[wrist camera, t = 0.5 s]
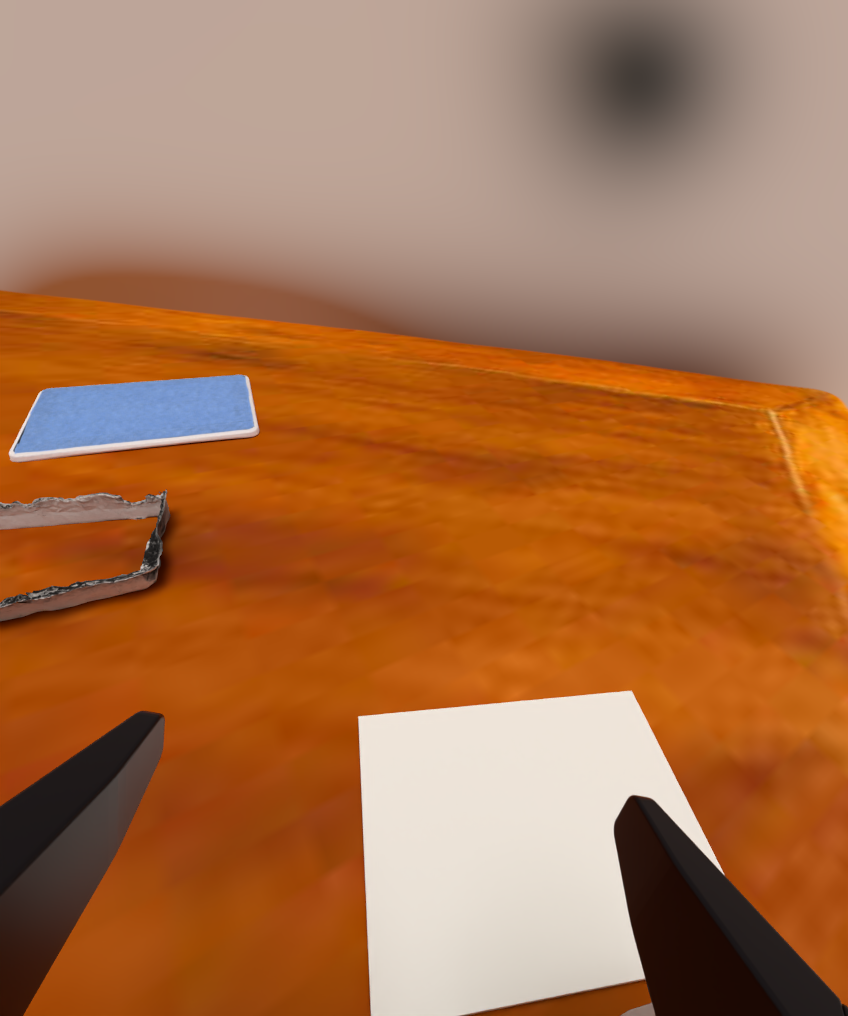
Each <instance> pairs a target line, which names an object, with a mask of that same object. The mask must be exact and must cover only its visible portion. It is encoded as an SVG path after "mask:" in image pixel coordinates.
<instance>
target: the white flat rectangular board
mask: <svg viewBox="0 0 848 1016" xmlns="http://www.w3.org/2000/svg"><path fill="white" fill-rule="evenodd" d="M358 723H359V747H360V770H361V794H362V818H363V842H364V866H365V889H366V913H367V937H368V961H369V985H370V1009H371V1016H467V1015H472V1014H477V1013H482V1012H487V1011H492V1010H497V1009H502V1008H507V1007H512V1006H517V1005H522V1004H527V1003H532V1002H537V1001H542V1000H547V999H552V998H557V997H562V996H567V995H572V994H577V993H582V992H587V991H592V990H597V989H602V988H607V987H612V986H617V985H622V984H627V983H632V982H637V981H642V980H646V979H645V976H644V972H643V968H642V965H641V961H640V957H639V954H638V950H637V947H636V943H635V939H634V935H633V931H632V927H631V923H630V918H629V914H628V909H627V903H626V898H625V893H624V887H623V882H622V876H621V871H620V866H619V860H618V855H617V849H616V844H615V839H614V823H615V820H616V818H617V816H618V815H619V813H620V811H621V809H622V807H623V806H624V804H625V802H626V800H627V799H628V797H630V796H631V795H638V796H644V797H649V798H651V799H653V800H654V801H655V802H656V803H657V804H658V805H659V806H660V807H661V808H662V809H663V810H664V811H665V812H666V813H667V814H668V815H669V816H670V818H671V819H672V820H673V821H674V822H675V823H676V824H677V825H678V826H679V827H680V828H681V829H682V830H683V831H684V833H685V834H686V835H687V836H688V837H689V838H690V839H691V840H692V841H693V842H694V843H695V844H696V845H697V846H698V848H699V849H700V850H701V851H702V852H703V853H704V854H705V855H706V856H707V857H708V858H709V859H710V860H711V862H712V863H713V864H714V865H715V866H716V867H717V868H718V869H719V870H720V871H721V872H722V873H723V871H722V869H721V867H720V865H719V863H718V861H717V859H716V857H715V855H714V853H713V851H712V849H711V847H710V845H709V843H708V841H707V839H706V837H705V835H704V833H703V831H702V829H701V827H700V825H699V823H698V821H697V819H696V817H695V815H694V813H693V811H692V809H691V807H690V805H689V803H688V801H687V800H686V798H685V796H684V794H683V792H682V790H681V788H680V786H679V784H678V782H677V780H676V778H675V776H674V774H673V772H672V770H671V768H670V766H669V764H668V762H667V760H666V758H665V756H664V754H663V752H662V750H661V748H660V746H659V744H658V742H657V740H656V738H655V736H654V734H653V732H652V730H651V728H650V726H649V724H648V722H647V720H646V718H645V716H644V714H643V712H642V710H641V708H640V706H639V704H638V702H637V700H636V698H635V696H634V694H633V693H632V691H623V692H613V693H602V694H592V695H581V696H570V697H560V698H549V699H539V700H528V701H517V702H507V703H496V704H486V705H475V706H465V707H454V708H443V709H433V710H422V711H412V712H401V713H390V714H380V715H369V716H359V717H358ZM723 874H724V873H723Z"/></svg>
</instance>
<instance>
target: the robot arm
mask: <svg viewBox="0 0 848 1016" xmlns="http://www.w3.org/2000/svg"><path fill="white" fill-rule="evenodd" d="M164 725H165V718H164V716H163V714H160V713H155V712H149V711H140V712H137V713H136V714H134V715H133V716H131V717H130V718H128V719H127V720H125V721H124V722H123V723H121V724H120V725H118V726H117V727H115V728H114V729H112V730H111V731H109V732H108V733H106V734H105V735H104V736H102V737H101V738H99V739H98V740H96V741H95V742H93V743H92V744H90V745H89V746H87V747H86V748H85V749H83V750H82V751H80V752H79V753H77V754H76V755H74V756H73V757H71V758H70V759H69V760H67V761H66V762H64V763H63V764H61V765H60V766H58V767H57V768H55V769H54V770H52V771H51V772H50V773H48V774H47V775H45V776H44V777H42V778H41V779H39V780H38V781H36V782H35V783H34V784H32V785H31V786H29V787H28V788H26V789H25V790H23V791H22V792H20V793H19V794H17V795H16V796H15V797H13V798H12V799H10V800H9V801H7V802H6V803H4V804H3V805H1V806H0V1016H23V1015H24V1013H25V1011H26V1009H27V1008H28V1006H29V1004H30V1002H31V1001H32V999H33V997H34V996H35V994H36V992H37V990H38V989H39V987H40V985H41V983H42V982H43V980H44V978H45V976H46V975H47V973H48V971H49V970H50V968H51V966H52V964H53V963H54V961H55V959H56V957H57V956H58V954H59V952H60V951H61V949H62V947H63V945H64V944H65V942H66V940H67V938H68V937H69V935H70V933H71V931H72V930H73V928H74V926H75V925H76V923H77V921H78V919H79V918H80V916H81V914H82V912H83V911H84V909H85V907H86V906H87V904H88V902H89V900H90V899H91V897H92V895H93V893H94V892H95V890H96V888H97V886H98V885H99V883H100V881H101V880H102V878H103V876H104V874H105V873H106V871H107V869H108V867H109V866H110V864H111V862H112V860H113V858H114V856H115V855H116V853H117V851H118V849H119V847H120V845H121V843H122V840H123V838H124V836H125V834H126V832H127V830H128V828H129V825H130V823H131V821H132V819H133V817H134V814H135V812H136V810H137V808H138V806H139V804H140V801H141V799H142V797H143V795H144V793H145V790H146V788H147V786H148V784H149V782H150V780H151V777H152V775H153V773H154V771H155V769H156V766H157V764H158V762H159V760H160V757H161V754H162V750H163V742H164ZM614 839H615V844H616V849H617V855H618V860H619V866H620V871H621V876H622V882H623V887H624V893H625V898H626V903H627V909H628V914H629V918H630V923H631V927H632V931H633V935H634V939H635V943H636V947H637V950H638V954H639V957H640V961H641V965H642V968H643V972H644V976H645V979H646V983H647V987H648V990H649V994H650V998H651V1001H652V1005H653V1008H654V1012H655V1016H848V1007H847V1006H846V1005H844V1004H841V1001H840V999H839V998H838V997H837V996H836V994H835V993H834V992H833V991H832V990H831V989H830V988H829V987H828V986H827V985H826V984H825V983H824V982H823V981H822V979H821V978H820V977H819V976H818V975H817V974H816V973H815V972H814V971H813V970H812V969H811V968H810V967H809V966H808V964H807V963H806V962H805V961H804V960H803V959H802V958H801V957H800V956H799V955H798V954H797V953H796V952H795V951H794V949H793V948H792V947H791V946H790V945H789V944H788V943H787V942H786V941H785V940H784V939H783V938H782V937H781V936H780V934H779V933H778V932H777V931H776V930H775V929H774V928H773V927H772V926H771V925H770V924H769V923H768V922H767V920H766V919H765V918H764V917H763V916H762V915H761V914H760V913H759V912H758V911H757V910H756V909H755V908H754V907H753V905H752V904H751V903H750V902H749V901H748V900H747V899H746V898H745V897H744V896H743V895H742V894H741V893H740V892H739V890H738V889H737V888H736V887H735V886H734V885H733V884H732V883H731V882H730V881H729V880H728V879H727V878H726V877H725V875H724V874H723V873H722V872H721V871H720V870H719V869H718V868H717V867H716V866H715V865H714V864H713V863H712V862H711V860H710V859H709V858H708V857H707V856H706V855H705V854H704V853H703V852H702V851H701V850H700V849H699V848H698V846H697V845H696V844H695V843H694V842H693V841H692V840H691V839H690V838H689V837H688V836H687V835H686V834H685V833H684V831H683V830H682V829H681V828H680V827H679V826H678V825H677V824H676V823H675V822H674V821H673V820H672V819H671V818H670V816H669V815H668V814H667V813H666V812H665V811H664V810H663V809H662V808H661V807H660V806H659V805H658V804H657V803H656V802H655V801H654V800H653V799H651V798H649V797H644V796H638V795H631V796H630V797H628V799H627V800H626V802H625V804H624V806H623V807H622V809H621V811H620V813H619V815H618V816H617V818H616V820H615V823H614Z"/></svg>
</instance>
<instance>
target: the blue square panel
mask: <svg viewBox="0 0 848 1016" xmlns="http://www.w3.org/2000/svg"><path fill="white" fill-rule="evenodd" d="M258 434H259V427H258V422H257V417H256V412H255V406H254V401H253V396H252V391H251V385H250V381H249V378H248V377H247V376H244V375H230V376H217V377H204V378H190V379H176V380H162V381H147V382H133V383H120V384H105V385H91V386H77V387H63V388H49V389H45V390H43V391H41V392H40V393H39V394H38V396H37V398H36V400H35V402H34V404H33V406H32V408H31V410H30V412H29V414H28V416H27V418H26V420H25V422H24V424H23V426H22V428H21V430H20V432H19V434H18V436H17V438H16V440H15V442H14V444H13V446H12V448H11V450H10V452H9V456H10V460H11V461H13V462H27V461H36V460H45V459H53V458H61V457H69V456H77V455H86V454H95V453H103V452H113V451H122V450H131V449H140V448H150V447H159V446H169V445H177V444H186V443H194V442H205V441H215V440H225V439H234V438H248V437H254V436H256V435H258Z"/></svg>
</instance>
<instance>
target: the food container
mask: <svg viewBox="0 0 848 1016" xmlns="http://www.w3.org/2000/svg"><path fill="white" fill-rule="evenodd" d="M621 1016H655V1012H654V1008H653V1005H652V1003H650V1004H647V1005H644V1006H641V1007H638V1008H635V1009H632V1010H629V1011H627V1012H625V1013H624V1014H622V1015H621Z"/></svg>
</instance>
